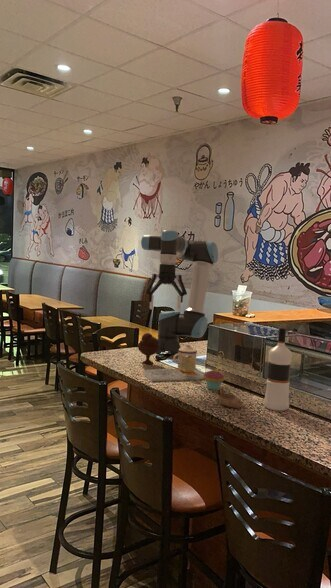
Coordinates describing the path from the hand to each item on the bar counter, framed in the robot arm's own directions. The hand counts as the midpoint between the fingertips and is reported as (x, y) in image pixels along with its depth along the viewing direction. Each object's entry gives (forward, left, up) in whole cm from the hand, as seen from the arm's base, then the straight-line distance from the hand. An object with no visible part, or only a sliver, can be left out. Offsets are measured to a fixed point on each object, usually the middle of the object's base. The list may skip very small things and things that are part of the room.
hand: (165, 309), depth 218 cm
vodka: (+59, +25, -29) cm, 70 cm away
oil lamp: (+53, +8, -29) cm, 61 cm away
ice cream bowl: (-12, -3, -29) cm, 31 cm away
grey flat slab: (+13, +1, -29) cm, 32 cm away
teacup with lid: (-1, +12, -29) cm, 31 cm away
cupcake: (+32, +12, -29) cm, 45 cm away
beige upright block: (+13, +8, -29) cm, 32 cm away
